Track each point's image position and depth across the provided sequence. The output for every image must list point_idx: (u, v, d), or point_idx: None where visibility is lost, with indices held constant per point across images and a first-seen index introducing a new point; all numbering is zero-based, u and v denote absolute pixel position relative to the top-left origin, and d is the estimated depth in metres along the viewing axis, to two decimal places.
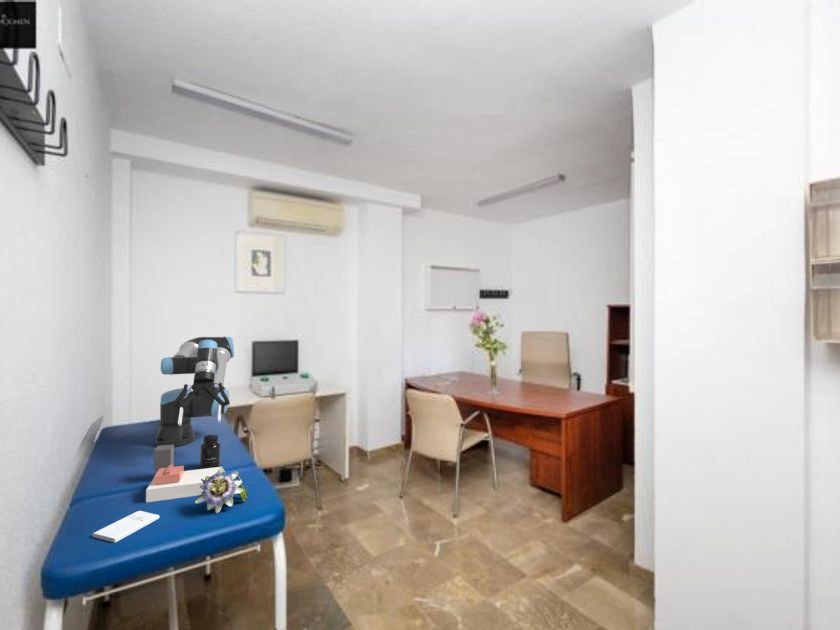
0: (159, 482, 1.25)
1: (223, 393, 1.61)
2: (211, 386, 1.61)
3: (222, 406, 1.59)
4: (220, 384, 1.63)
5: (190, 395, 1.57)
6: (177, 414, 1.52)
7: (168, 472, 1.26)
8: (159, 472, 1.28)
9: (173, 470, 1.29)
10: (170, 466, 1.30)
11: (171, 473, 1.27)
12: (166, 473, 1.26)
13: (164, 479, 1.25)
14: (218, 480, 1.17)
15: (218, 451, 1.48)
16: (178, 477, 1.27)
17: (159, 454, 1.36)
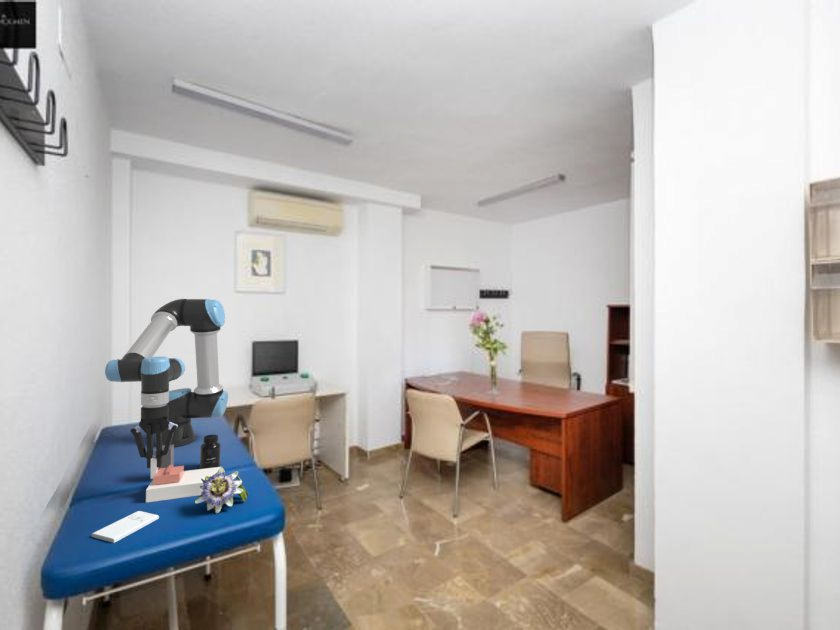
0: (159, 482, 1.25)
1: (168, 441, 1.27)
2: (163, 424, 1.27)
3: (158, 459, 1.27)
4: (174, 428, 1.28)
5: (149, 439, 1.26)
6: (148, 466, 1.26)
7: (168, 472, 1.26)
8: (159, 472, 1.28)
9: (173, 470, 1.29)
10: (170, 466, 1.30)
11: (171, 473, 1.27)
12: (166, 473, 1.26)
13: (164, 479, 1.25)
14: (218, 480, 1.17)
15: (218, 451, 1.48)
16: (178, 477, 1.27)
17: None
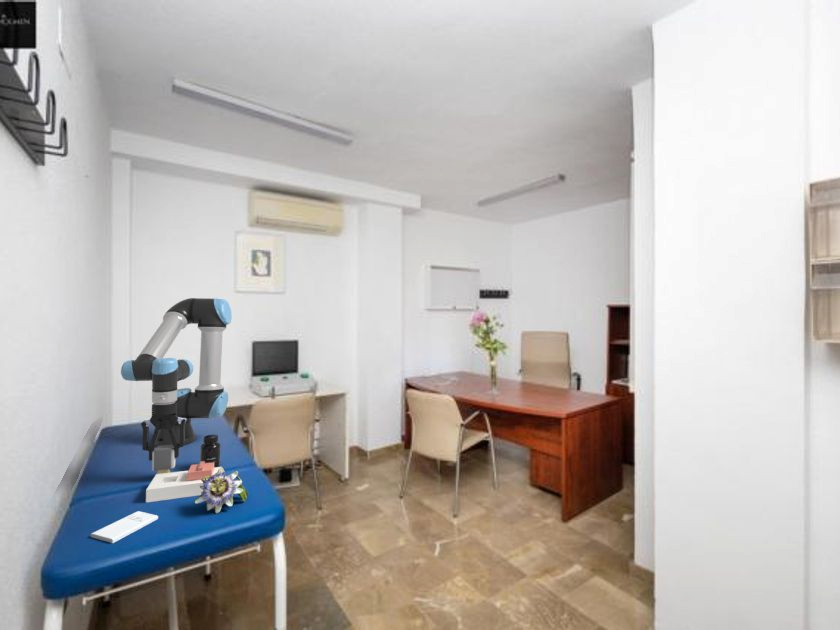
0: (193, 478, 1.28)
1: (181, 433, 1.39)
2: (173, 420, 1.38)
3: (175, 450, 1.39)
4: (183, 421, 1.39)
5: (155, 434, 1.36)
6: (150, 459, 1.36)
7: (201, 468, 1.30)
8: (191, 468, 1.31)
9: (205, 466, 1.33)
10: (202, 463, 1.33)
11: (203, 469, 1.30)
12: (199, 469, 1.29)
13: (197, 475, 1.29)
14: (218, 480, 1.17)
15: (218, 451, 1.48)
16: (210, 473, 1.30)
17: (159, 454, 1.36)
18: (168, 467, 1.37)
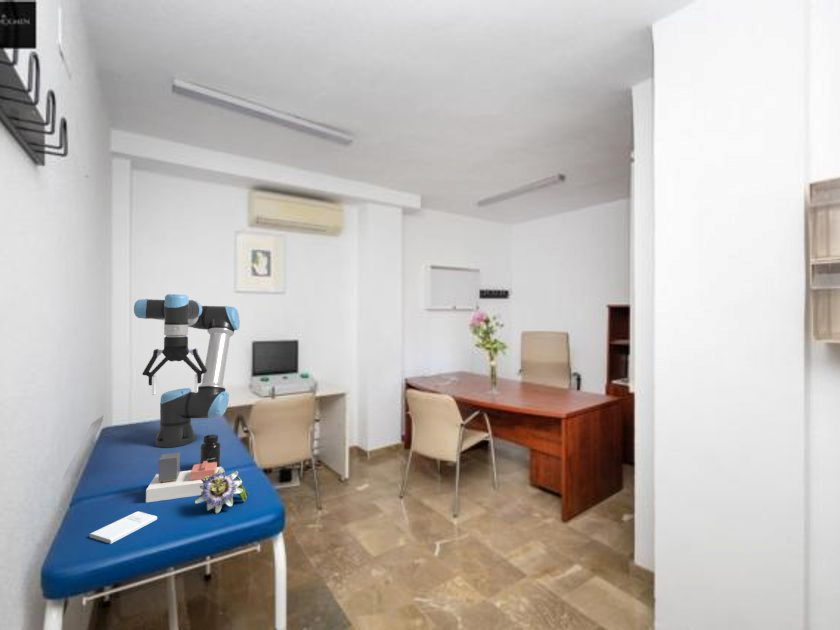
0: (195, 478, 1.29)
1: (199, 362, 1.47)
2: (184, 353, 1.45)
3: (198, 376, 1.48)
4: (195, 351, 1.46)
5: (162, 363, 1.43)
6: (150, 384, 1.42)
7: (203, 468, 1.30)
8: (194, 468, 1.31)
9: (207, 466, 1.33)
10: (204, 462, 1.34)
11: (206, 469, 1.31)
12: (202, 469, 1.30)
13: (200, 474, 1.29)
14: (218, 480, 1.17)
15: (218, 451, 1.48)
16: (213, 473, 1.31)
17: (164, 463, 1.26)
18: (174, 477, 1.27)
